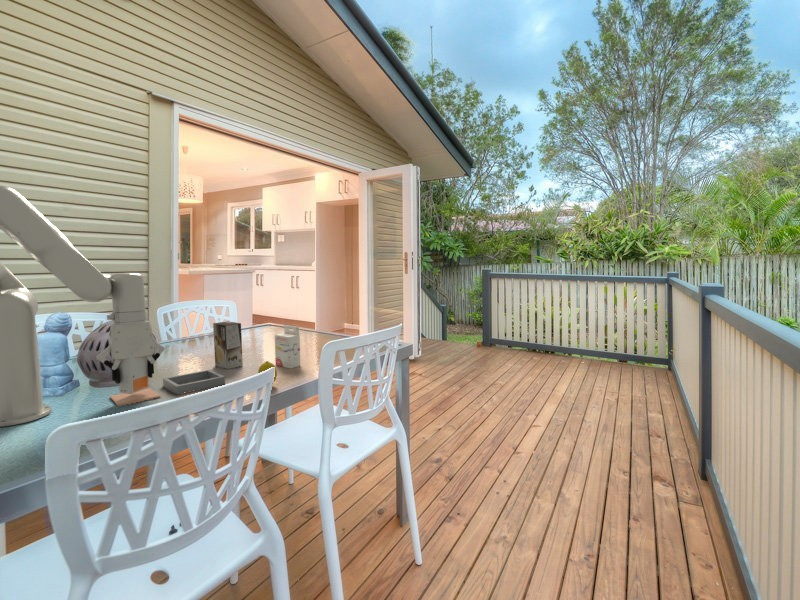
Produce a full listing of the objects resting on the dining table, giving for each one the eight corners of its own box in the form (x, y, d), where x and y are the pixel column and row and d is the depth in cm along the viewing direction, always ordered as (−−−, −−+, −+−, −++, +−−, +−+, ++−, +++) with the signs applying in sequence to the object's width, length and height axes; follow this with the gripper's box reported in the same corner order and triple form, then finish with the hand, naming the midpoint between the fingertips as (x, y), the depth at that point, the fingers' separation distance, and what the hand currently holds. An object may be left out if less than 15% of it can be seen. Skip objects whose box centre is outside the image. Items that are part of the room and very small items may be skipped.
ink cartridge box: (274, 365, 151) (273, 326, 150) (285, 362, 155) (283, 324, 154) (290, 368, 146) (289, 328, 145) (301, 365, 151) (300, 326, 149)
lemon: (258, 390, 122) (257, 364, 121) (258, 384, 127) (258, 359, 127) (277, 388, 124) (276, 362, 123) (277, 383, 129) (276, 358, 128)
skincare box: (132, 394, 112) (129, 351, 111) (119, 393, 112) (116, 351, 111) (149, 387, 118) (147, 347, 116) (137, 386, 118) (134, 346, 117)
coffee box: (243, 365, 151) (242, 323, 149) (227, 369, 146) (225, 325, 144) (230, 362, 156) (228, 320, 155) (214, 365, 151) (212, 322, 149)
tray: (177, 394, 118) (176, 386, 117) (163, 386, 126) (162, 378, 126) (225, 384, 128) (224, 376, 128) (209, 377, 136) (209, 369, 136)
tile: (118, 406, 108) (118, 404, 108) (109, 398, 115) (109, 395, 115) (160, 397, 115) (160, 395, 115) (149, 389, 122) (149, 388, 122)
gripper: (94, 322, 104) (99, 389, 106) (168, 315, 117) (172, 375, 118) (88, 319, 109) (93, 383, 111) (160, 313, 122) (163, 371, 124)
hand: (133, 379), depth 115 cm, fingers closed on skincare box, 7 cm apart
